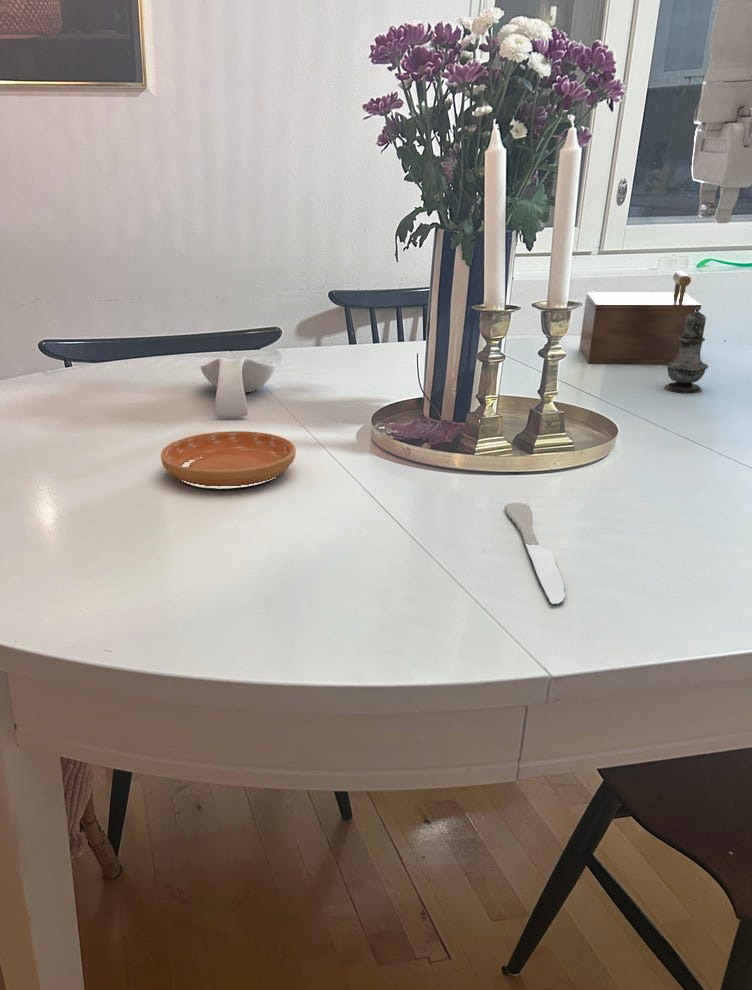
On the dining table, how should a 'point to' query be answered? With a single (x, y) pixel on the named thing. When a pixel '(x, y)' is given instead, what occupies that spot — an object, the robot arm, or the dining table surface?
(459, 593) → the dining table surface
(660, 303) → the lid
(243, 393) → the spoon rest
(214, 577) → the dining table surface
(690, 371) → the salt shaker
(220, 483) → the saucer
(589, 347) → the chest
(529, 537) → the utensil handle
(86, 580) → the dining table surface
